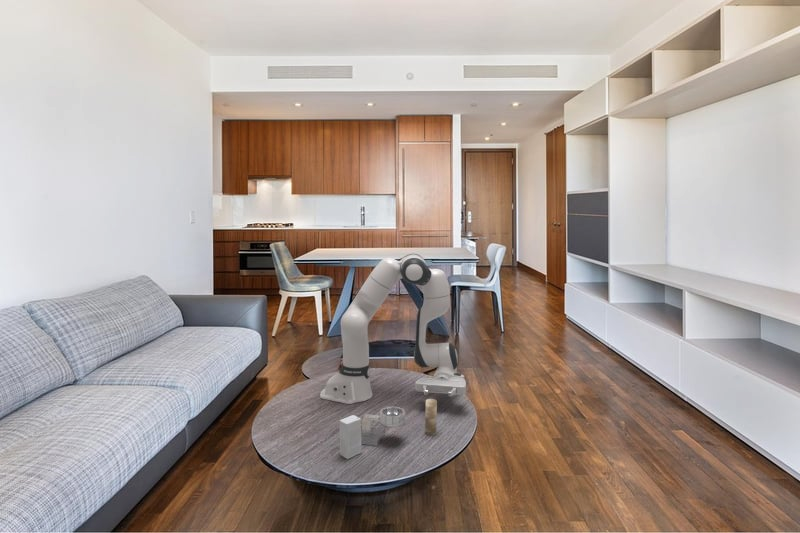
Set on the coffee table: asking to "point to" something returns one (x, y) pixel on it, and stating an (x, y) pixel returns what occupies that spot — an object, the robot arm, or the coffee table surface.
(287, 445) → the coffee table surface
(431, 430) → the rail post
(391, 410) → the cup bracket
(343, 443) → the skincare box
